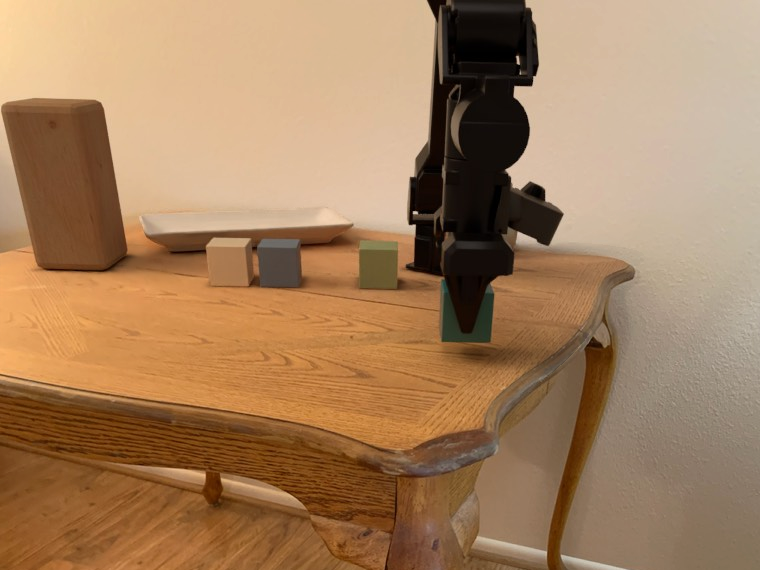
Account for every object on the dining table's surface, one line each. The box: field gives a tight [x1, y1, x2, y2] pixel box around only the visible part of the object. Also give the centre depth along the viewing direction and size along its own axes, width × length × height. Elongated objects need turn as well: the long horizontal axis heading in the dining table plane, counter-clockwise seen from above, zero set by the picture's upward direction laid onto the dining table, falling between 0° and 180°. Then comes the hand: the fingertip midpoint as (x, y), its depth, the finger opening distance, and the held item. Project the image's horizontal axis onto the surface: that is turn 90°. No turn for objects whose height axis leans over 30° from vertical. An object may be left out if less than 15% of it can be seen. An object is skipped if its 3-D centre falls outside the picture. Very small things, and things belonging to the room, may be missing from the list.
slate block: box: [256, 239, 303, 288], centre depth 101 cm, size 5×5×5 cm
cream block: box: [205, 238, 255, 287], centre depth 101 cm, size 5×5×5 cm
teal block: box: [438, 278, 496, 344], centre depth 78 cm, size 5×5×5 cm
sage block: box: [358, 240, 399, 290], centre depth 101 cm, size 5×5×5 cm
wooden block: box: [0, 97, 128, 271], centre depth 103 cm, size 10×10×20 cm
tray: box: [138, 206, 355, 253], centre depth 122 cm, size 17×31×4 cm, turn 110°
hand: (464, 325), depth 79 cm, fingers closed on teal block, 5 cm apart
